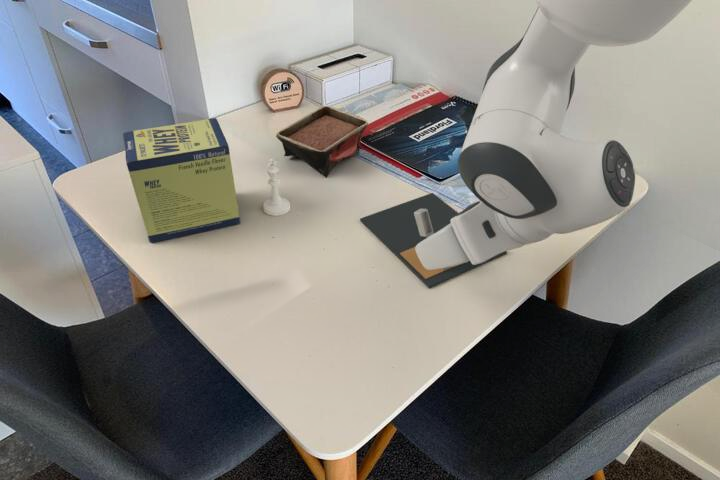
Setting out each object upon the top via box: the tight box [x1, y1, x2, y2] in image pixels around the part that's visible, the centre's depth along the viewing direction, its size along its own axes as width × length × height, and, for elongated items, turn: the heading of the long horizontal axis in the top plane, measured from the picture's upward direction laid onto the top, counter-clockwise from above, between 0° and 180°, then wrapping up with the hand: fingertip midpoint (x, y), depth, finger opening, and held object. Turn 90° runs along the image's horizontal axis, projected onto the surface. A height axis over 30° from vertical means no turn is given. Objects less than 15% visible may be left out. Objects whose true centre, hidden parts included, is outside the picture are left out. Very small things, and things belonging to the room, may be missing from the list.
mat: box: [359, 192, 508, 289], centre depth 89 cm, size 20×16×1 cm
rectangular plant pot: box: [275, 105, 369, 178], centre depth 107 cm, size 14×18×10 cm
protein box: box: [122, 117, 241, 244], centre depth 88 cm, size 10×16×16 cm
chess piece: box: [262, 158, 291, 217], centre depth 92 cm, size 5×5×10 cm
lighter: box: [414, 209, 449, 271], centre depth 81 cm, size 7×2×8 cm, turn 43°
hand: (444, 237), depth 78 cm, fingers open, 8 cm apart
